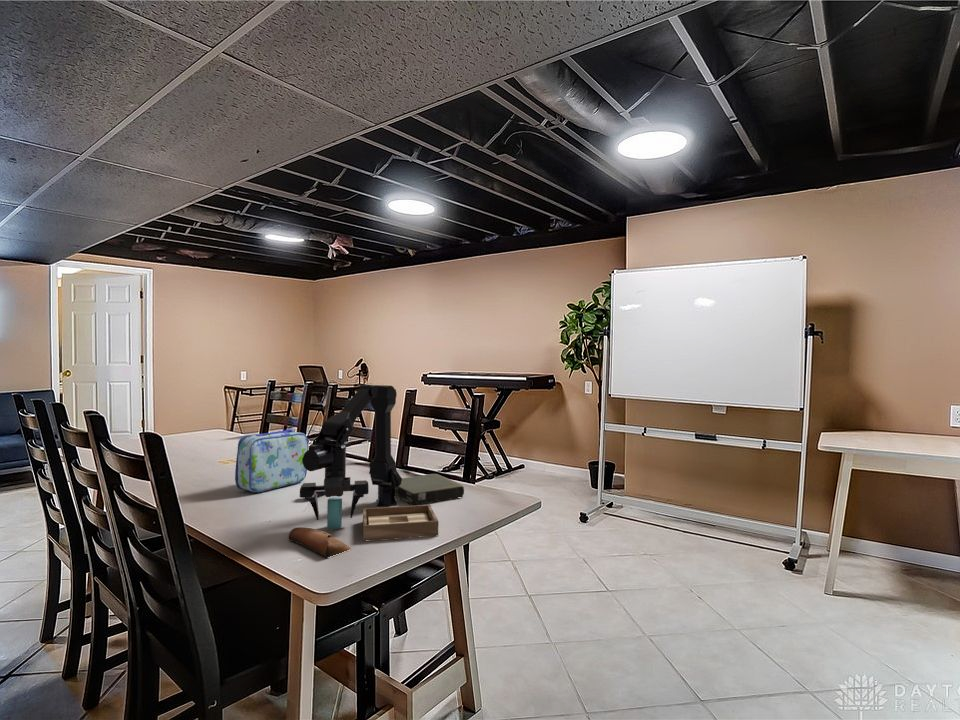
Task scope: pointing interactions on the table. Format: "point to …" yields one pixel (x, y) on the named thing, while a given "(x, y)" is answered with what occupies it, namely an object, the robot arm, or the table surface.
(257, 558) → the table surface
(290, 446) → the lunch box
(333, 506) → the peg
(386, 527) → the open box
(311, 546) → the sunglasses case
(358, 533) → the table surface
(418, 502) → the network switch
